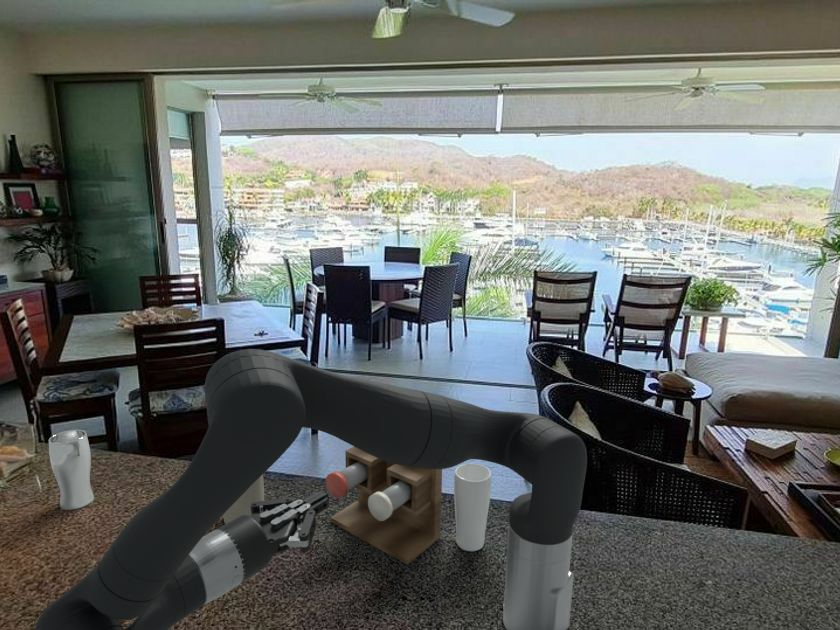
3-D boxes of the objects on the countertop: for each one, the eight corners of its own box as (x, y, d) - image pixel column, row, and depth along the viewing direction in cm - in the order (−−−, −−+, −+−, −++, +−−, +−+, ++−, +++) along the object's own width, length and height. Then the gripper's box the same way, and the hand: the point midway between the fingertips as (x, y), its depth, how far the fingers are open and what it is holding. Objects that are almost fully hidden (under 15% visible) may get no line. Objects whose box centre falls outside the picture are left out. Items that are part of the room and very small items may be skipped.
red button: (379, 480, 106) (379, 458, 105) (343, 502, 98) (343, 478, 97) (362, 472, 109) (362, 450, 107) (325, 493, 101) (325, 470, 100)
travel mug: (272, 509, 110) (268, 429, 106) (251, 532, 103) (246, 447, 98) (238, 503, 112) (232, 424, 108) (215, 526, 104) (208, 442, 100)
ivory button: (423, 499, 99) (423, 476, 98) (388, 525, 91) (388, 500, 90) (403, 490, 102) (404, 468, 101) (367, 514, 94) (367, 490, 93)
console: (440, 537, 102) (442, 451, 98) (407, 564, 94) (408, 473, 90) (365, 499, 114) (364, 422, 110) (330, 521, 106) (328, 439, 102)
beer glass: (60, 497, 113) (50, 432, 110) (98, 490, 116) (89, 426, 113) (54, 514, 107) (43, 446, 104) (94, 506, 110) (85, 440, 107)
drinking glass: (486, 558, 96) (490, 483, 93) (449, 552, 98) (452, 479, 94) (489, 535, 103) (492, 465, 99) (454, 530, 104) (457, 461, 101)
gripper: (252, 554, 63) (355, 490, 76) (193, 514, 71) (296, 462, 84) (257, 607, 65) (357, 535, 78) (199, 562, 73) (299, 503, 86)
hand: (325, 497), depth 81 cm, fingers closed
